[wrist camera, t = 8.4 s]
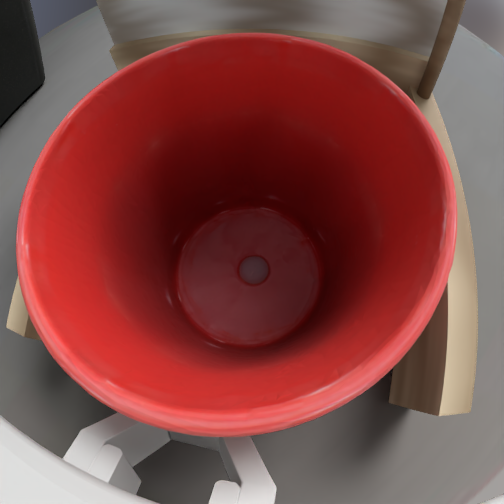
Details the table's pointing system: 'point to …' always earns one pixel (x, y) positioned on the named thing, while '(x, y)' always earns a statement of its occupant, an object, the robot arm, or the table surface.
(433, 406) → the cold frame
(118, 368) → the flower pot
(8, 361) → the table surface
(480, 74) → the table surface
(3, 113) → the flower pot
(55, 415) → the table surface
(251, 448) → the robot arm
